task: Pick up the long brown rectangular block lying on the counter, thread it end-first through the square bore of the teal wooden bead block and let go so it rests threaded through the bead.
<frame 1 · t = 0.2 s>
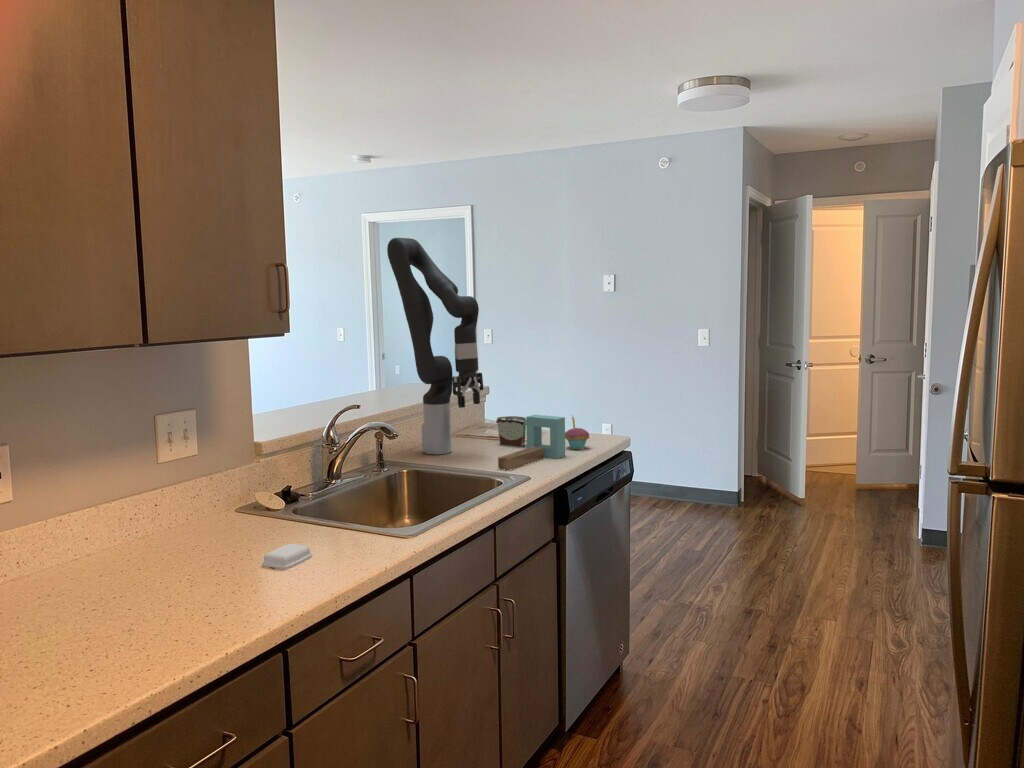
hand: (469, 405, 249), 17 cm above the worktop, tool pointing down, fingers open, 8 cm apart
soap: (287, 563, 154), on the worktop
bead: (546, 455, 251), on the worktop
food container: (515, 445, 270), on the worktop
cupcake: (577, 448, 262), on the worktop
brown rectangular block: (521, 464, 239), on the worktop
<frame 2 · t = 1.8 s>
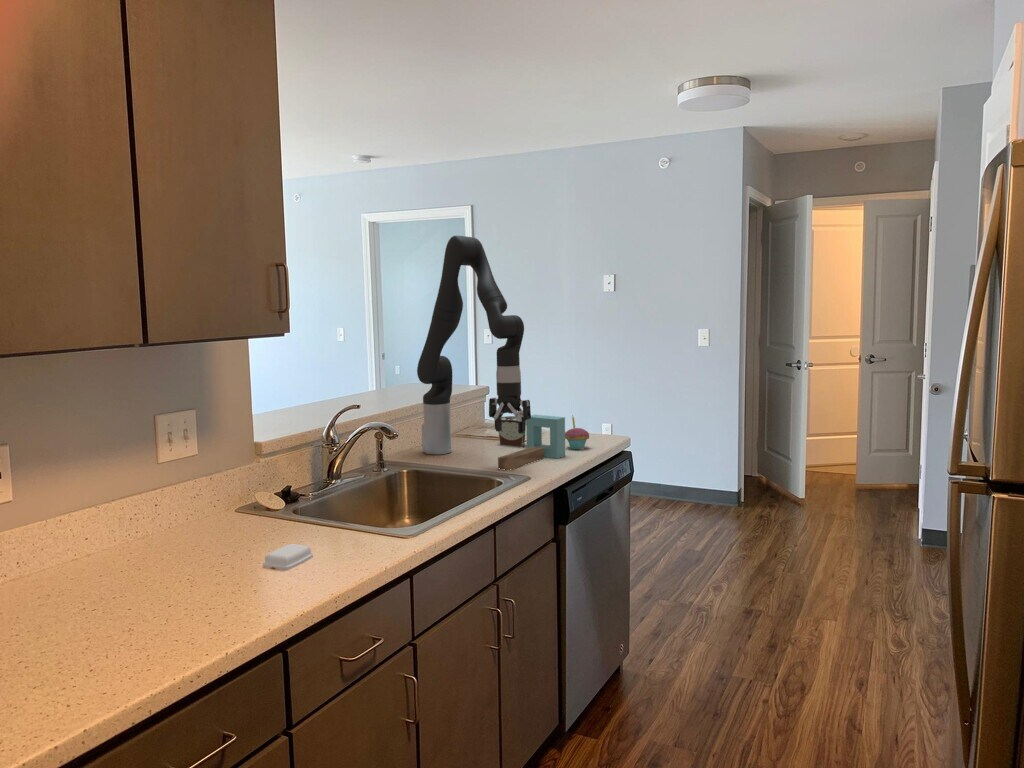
hand: (510, 432, 233), 11 cm above the worktop, tool pointing down, fingers open, 8 cm apart
nothing on the worktop moved.
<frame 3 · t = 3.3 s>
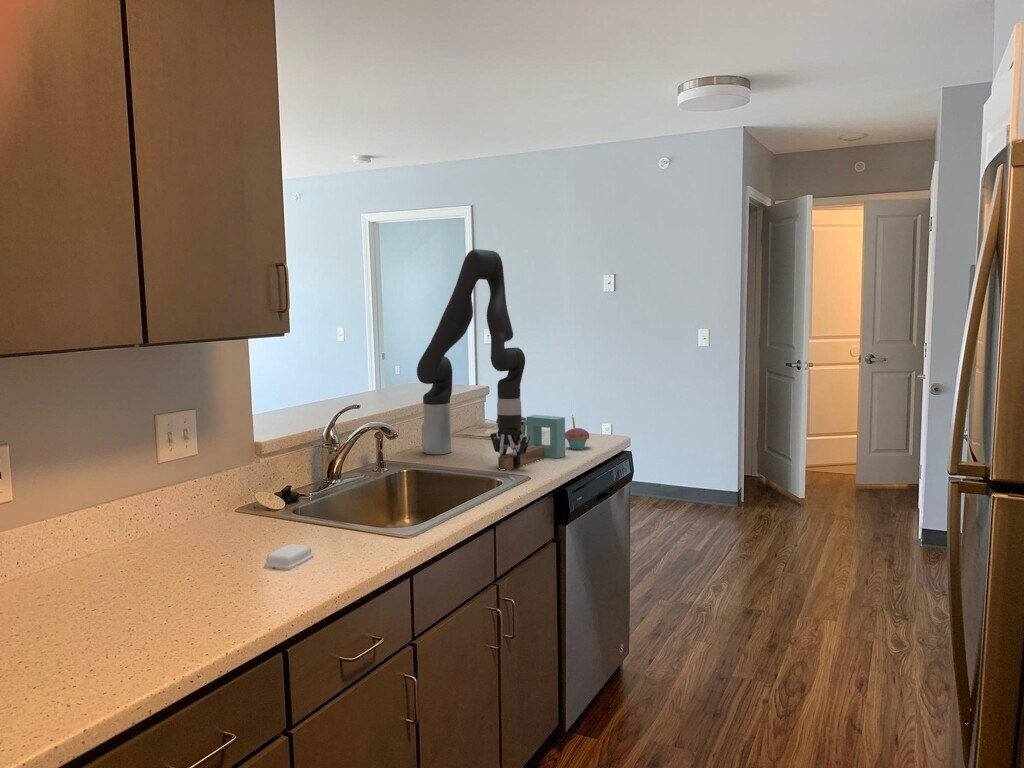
hand: (510, 466, 234), 0 cm above the worktop, tool pointing down, fingers closed on brown rectangular block, 4 cm apart
brown rectangular block: (521, 463, 239), on the worktop, touching gripper
everything else where it was.
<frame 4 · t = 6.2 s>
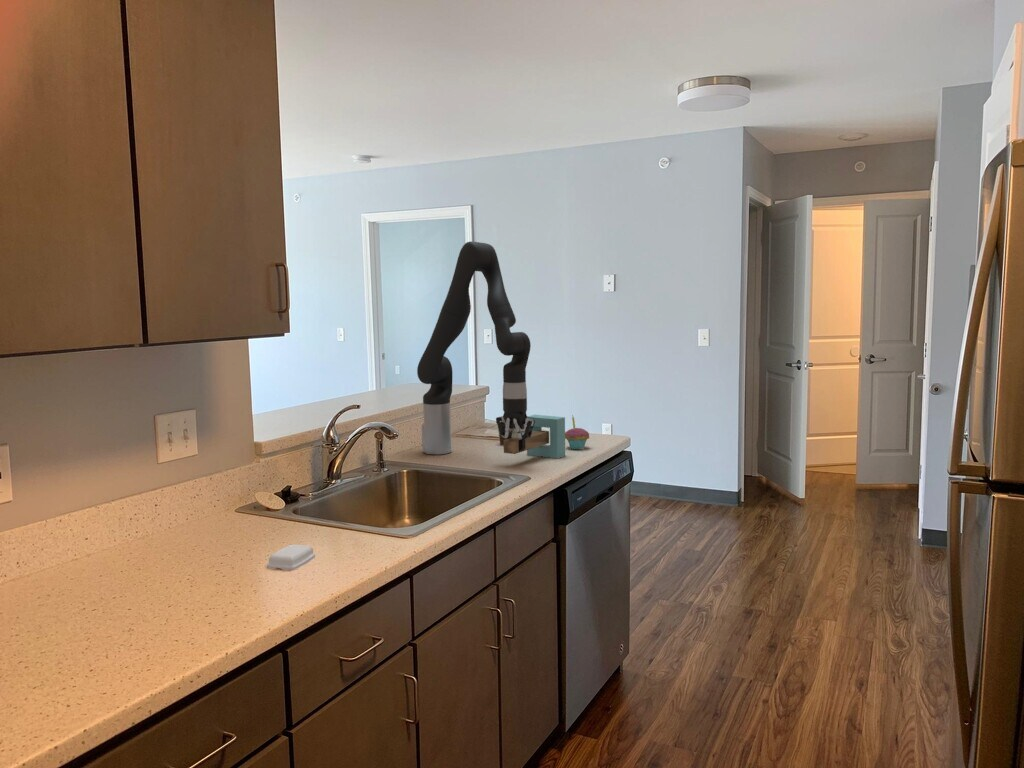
hand: (515, 449, 236), 5 cm above the worktop, tool pointing down, fingers closed on brown rectangular block, 4 cm apart
brown rectangular block: (527, 447, 242), point 5 cm above the worktop, touching gripper
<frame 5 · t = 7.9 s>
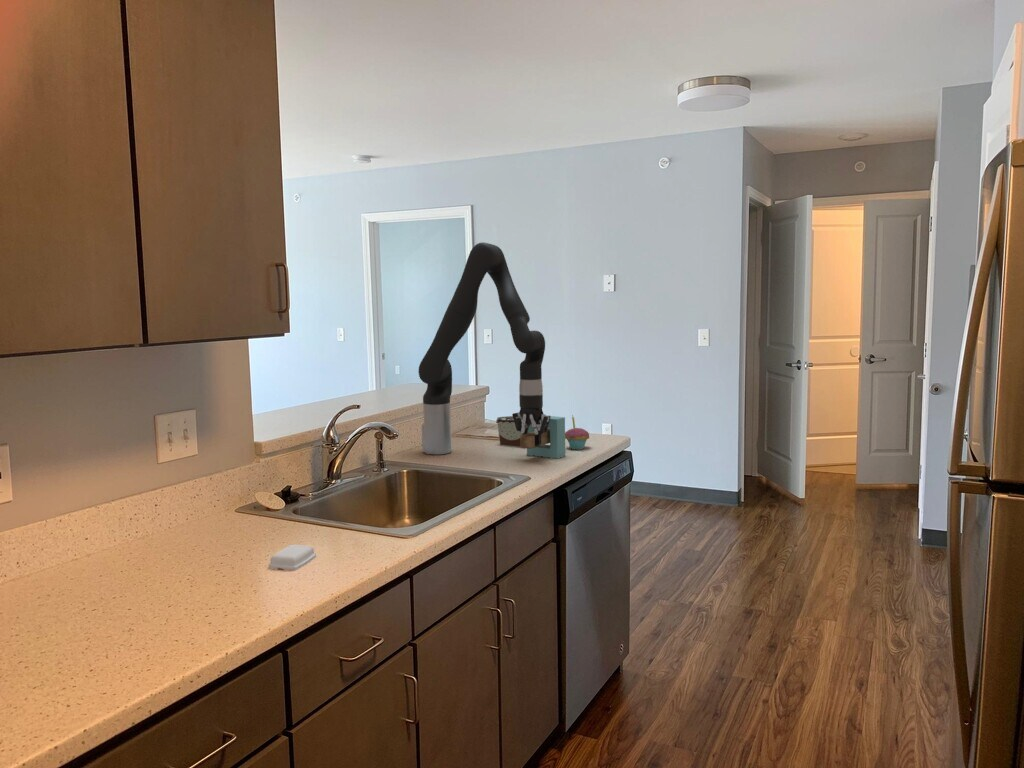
hand: (531, 444, 244), 5 cm above the worktop, tool pointing down, fingers closed on brown rectangular block, 4 cm apart
brown rectangular block: (542, 443, 249), point 5 cm above the worktop, touching gripper
when the fingers open (5 cm above the worktop, at t = 9.4 s): brown rectangular block drops 1 cm, resting on bead.
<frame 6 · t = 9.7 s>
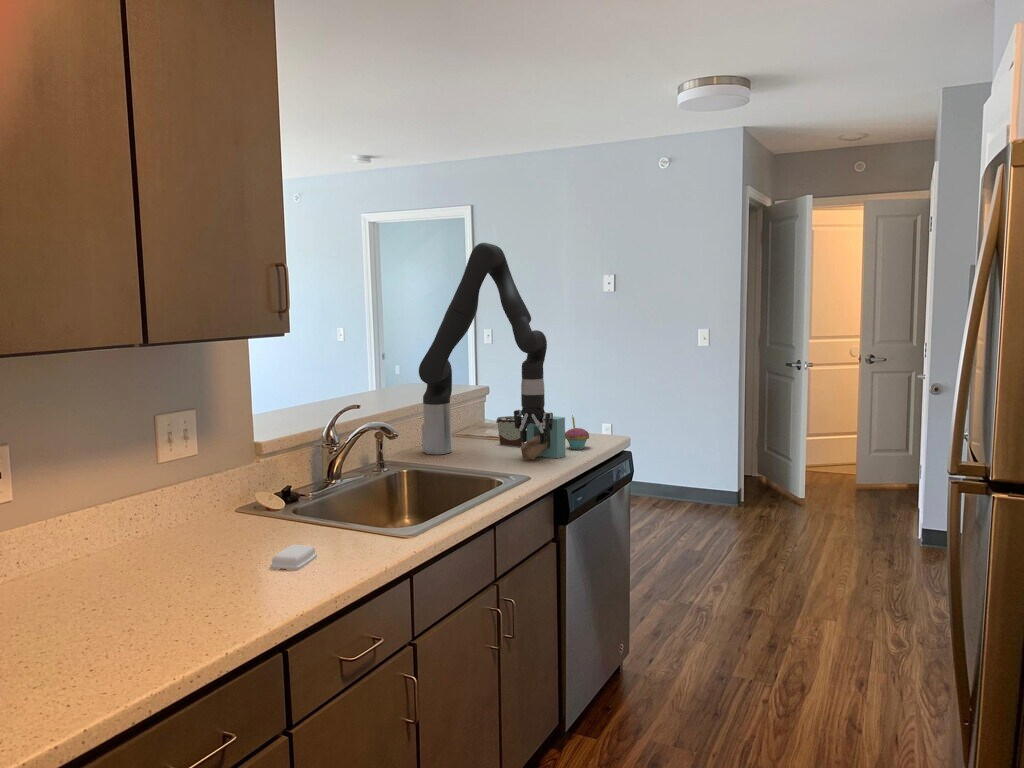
hand: (533, 442, 245), 6 cm above the worktop, tool pointing down, fingers open, 6 cm apart
brown rectangular block: (543, 446, 250), point 3 cm above the worktop, tilted 14°, touching bead
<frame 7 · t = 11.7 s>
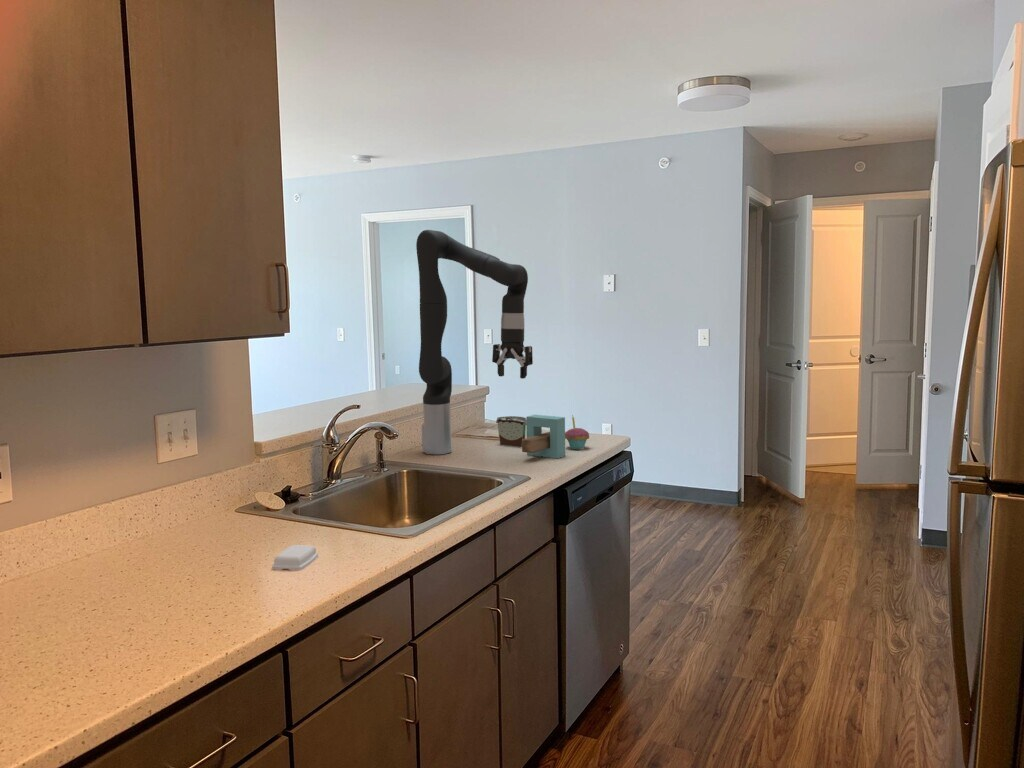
hand: (512, 377, 243), 27 cm above the worktop, tool pointing down, fingers open, 8 cm apart
brown rectangular block: (543, 447, 250), point 3 cm above the worktop, touching bead
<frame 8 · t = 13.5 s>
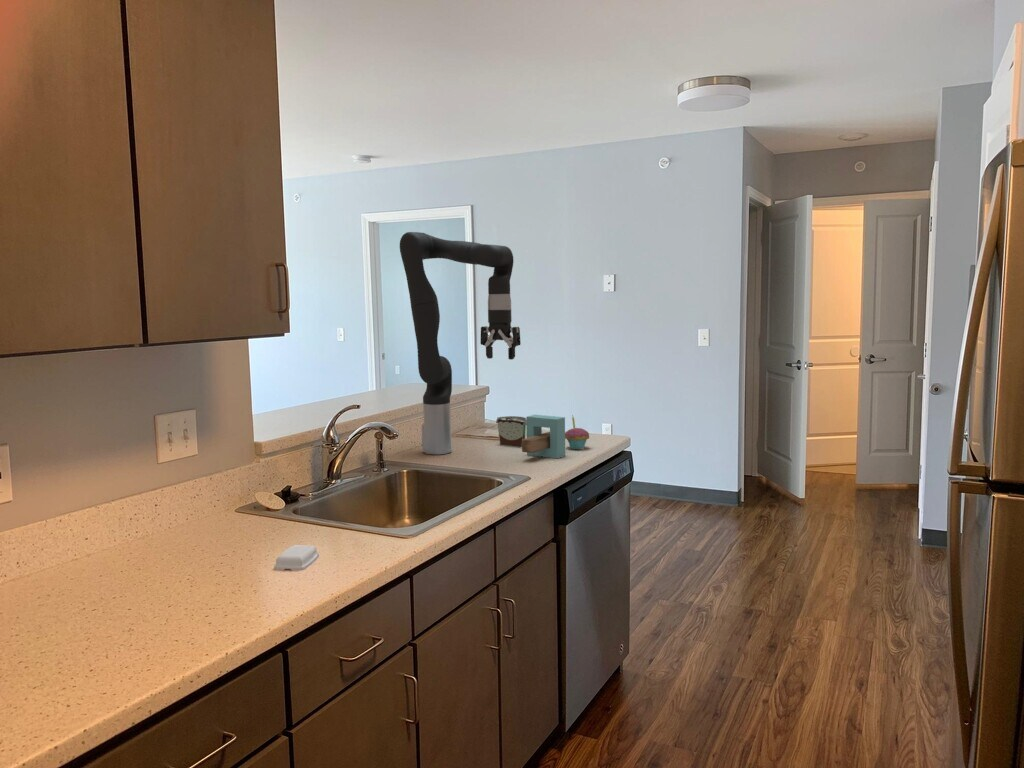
hand: (500, 358, 242), 33 cm above the worktop, tool pointing down, fingers open, 8 cm apart
at the end: brown rectangular block inside the target area on the bead (0.2 cm from its centre), point 3.0 cm above the bead's base; brown rectangular block tilted 0°; the gripper is holding nothing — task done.
